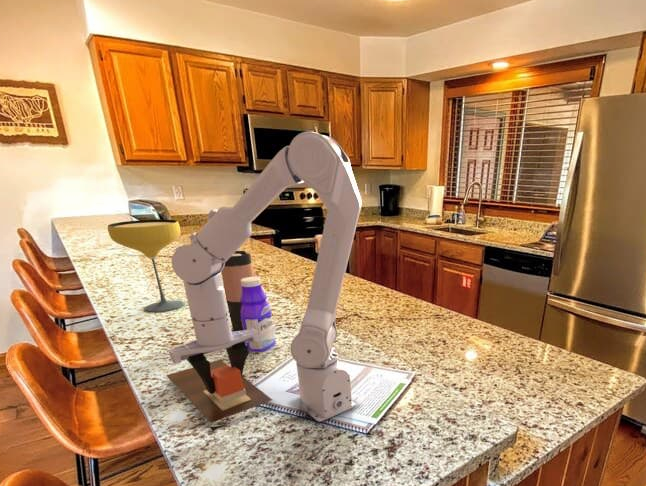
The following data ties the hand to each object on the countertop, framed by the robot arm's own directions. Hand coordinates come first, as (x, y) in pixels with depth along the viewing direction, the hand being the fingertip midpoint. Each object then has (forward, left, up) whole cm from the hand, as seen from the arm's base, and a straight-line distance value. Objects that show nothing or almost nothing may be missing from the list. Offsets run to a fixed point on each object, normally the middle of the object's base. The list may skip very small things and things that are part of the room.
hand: (224, 386), depth 77 cm
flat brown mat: (+5, 0, -3) cm, 6 cm away
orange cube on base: (0, 0, -1) cm, 1 cm away
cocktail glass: (+72, -10, -4) cm, 73 cm away
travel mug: (+35, -20, -4) cm, 40 cm away
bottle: (+18, -16, -4) cm, 24 cm away
